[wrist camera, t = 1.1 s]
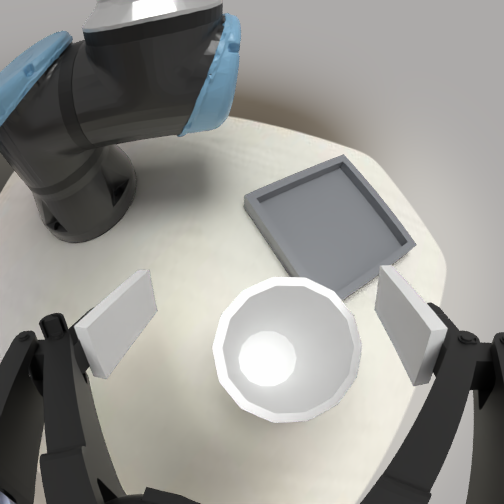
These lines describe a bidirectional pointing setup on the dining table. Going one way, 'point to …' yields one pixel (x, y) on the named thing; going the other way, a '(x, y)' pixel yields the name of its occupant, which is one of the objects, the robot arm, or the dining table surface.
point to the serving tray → (329, 226)
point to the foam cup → (287, 349)
